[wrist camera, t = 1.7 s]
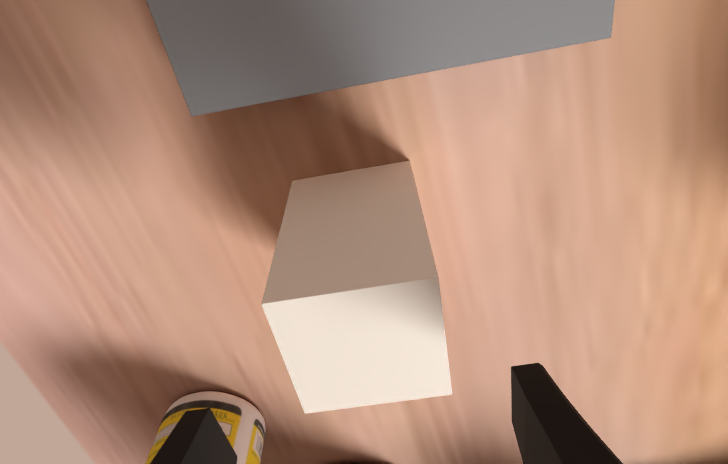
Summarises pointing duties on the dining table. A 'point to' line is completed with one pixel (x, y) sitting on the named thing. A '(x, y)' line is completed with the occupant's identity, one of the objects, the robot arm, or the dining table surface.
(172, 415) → the supplement bottle
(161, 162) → the dining table surface
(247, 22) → the base block
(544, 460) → the robot arm
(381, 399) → the ivory block
